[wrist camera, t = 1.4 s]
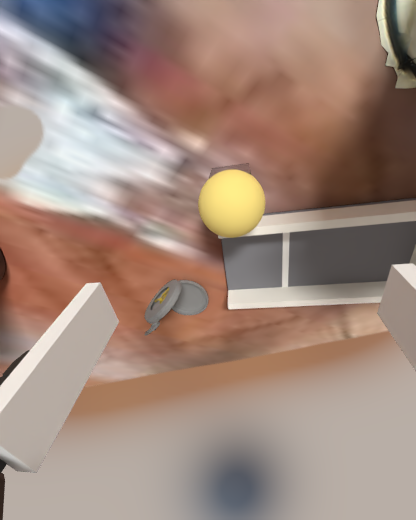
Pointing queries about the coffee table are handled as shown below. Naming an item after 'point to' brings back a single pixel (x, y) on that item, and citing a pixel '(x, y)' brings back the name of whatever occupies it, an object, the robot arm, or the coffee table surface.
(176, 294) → the pocket watch
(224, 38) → the coffee table surface
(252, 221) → the ball
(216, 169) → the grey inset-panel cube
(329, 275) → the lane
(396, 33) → the decorative vase
